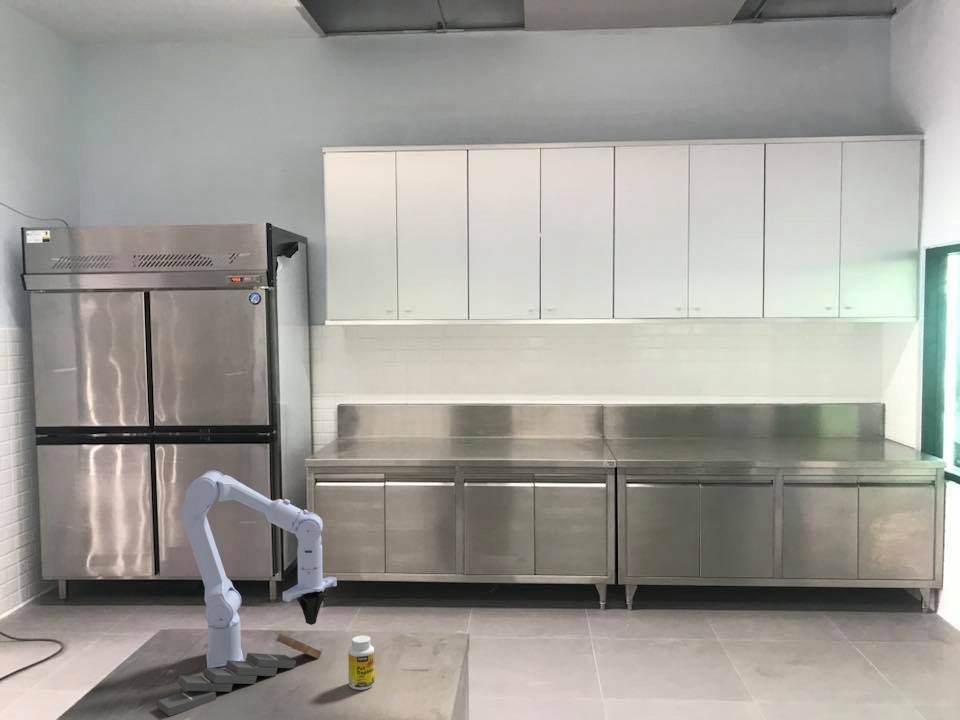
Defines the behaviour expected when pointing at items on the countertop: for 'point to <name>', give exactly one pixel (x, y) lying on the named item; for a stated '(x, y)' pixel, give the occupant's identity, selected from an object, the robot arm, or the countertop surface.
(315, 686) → the countertop surface
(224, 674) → the domino
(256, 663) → the domino
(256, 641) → the countertop surface
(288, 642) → the walnut domino
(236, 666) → the domino
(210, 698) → the domino
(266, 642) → the countertop surface
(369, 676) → the supplement bottle
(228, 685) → the domino
